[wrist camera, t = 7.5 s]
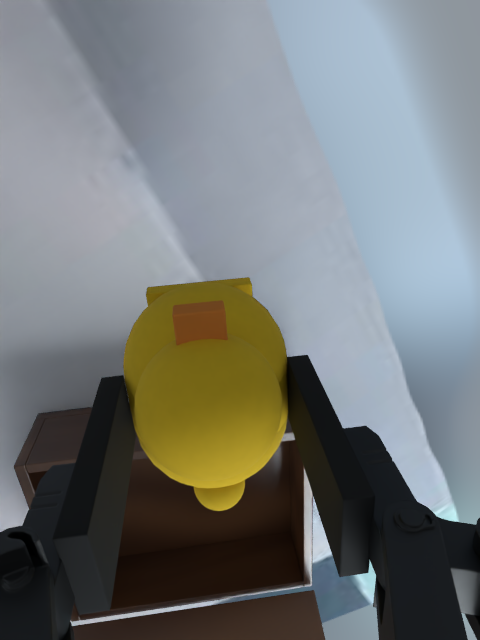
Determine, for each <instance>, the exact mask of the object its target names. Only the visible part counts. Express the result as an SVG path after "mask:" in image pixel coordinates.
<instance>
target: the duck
mask: <svg viewBox="0 0 480 640" xmlns="http://www.w3.org/2000/svg"><path fill="white" fill-rule="evenodd" d="M146 297H147V303H148V307H147V308H146V309H145V310H144V311H143V312H142V314H141V315H140V316H139V318H138V319H137V321H136V322H135V324H134V325H133V328H132V330H131V332H130V335H129V338H128V340H127V343H126V347H125V354H124V365H123V367H124V378H125V384H126V389H127V394H128V399H129V404H130V409H131V413H132V418H133V423H134V428H135V431H136V433H137V436H138V439H139V442H140V445H141V447H142V449H143V450H144V451H145V453H146V454H147V456H148V457H149V459H150V460H151V461H152V463H153V464H154V465H155V466H156V467H157V468H159V469H160V470H161V471H162V472H164V473H165V474H166V475H167V476H169V477H170V478H172V479H174V480H176V481H178V482H180V483H183V484H186V485H190V486H194V492H195V495H196V497H197V499H198V500H199V501H200V503H201V504H202V505H204V506H205V507H206V508H208V509H211V510H215V511H223V510H227V509H229V508H231V507H233V506H234V505H235V504H237V502H238V501H239V500H240V499H241V497H242V495H243V492H244V488H245V479H247V478H249V477H250V476H252V475H254V474H255V473H257V472H258V471H259V470H260V469H261V468H263V467H264V466H265V465H266V463H267V462H268V461H269V460H270V458H271V457H272V456H273V454H274V453H275V452H276V450H277V449H278V447H279V445H280V442H281V440H282V438H283V435H284V432H285V430H286V424H287V416H288V382H287V355H286V348H285V343H284V339H283V337H282V334H281V331H280V329H279V327H278V325H277V324H276V322H275V321H274V319H273V318H272V316H271V315H270V313H269V312H268V310H267V309H266V308H265V307H264V306H262V305H261V304H260V303H259V302H258V301H257V300H256V299H255V298H253V297H252V284H251V281H250V278H238V279H227V280H217V281H207V282H197V283H187V284H177V285H166V286H156V287H148V288H147V293H146Z"/></svg>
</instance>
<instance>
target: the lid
mask: <svg viewBox="0 0 480 640" xmlns="http://www.w3.org/2000/svg"><path fill="white" fill-rule="evenodd" d="M72 628H73V631H74V638H75V640H325V636H324V632H323V628H322V623H321V619H320V614H319V610H318V605H317V601H316V596H315V592H314V590H312V591H305V592H298V593H291V594H285V595H278V596H271V597H265V598H258V599H251V600H245V601H238V602H231V603H225V604H218V605H211V606H205V607H198V608H191V609H184V610H178V611H171V612H164V613H158V614H151V615H144V616H138V617H131V618H124V619H118V620H111V621H104V622H97V623H91V624H84V625H77V626H72Z"/></svg>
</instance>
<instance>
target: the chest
mask: <svg viewBox="0 0 480 640" xmlns="http://www.w3.org/2000/svg"><path fill="white" fill-rule="evenodd" d="M129 405H130V404H129ZM91 410H92V408H83V409H74V410H66V411H57V412H49V413H40V414H38V415H37V417H36V420H35V422H34V424H33V426H32V428H31V430H30V432H29V435H28V437H27V439H26V441H25V443H24V445H23V447H22V450H21V452H20V454H19V456H18V458H17V460H16V462H15V465H14V469H15V472H16V475H17V477H18V480H19V483H20V485H21V488H22V491H23V493H24V496H25V499H26V501H27V504H28V507H29V509H30V505H31V502H32V500H33V497H35V492H36V489H37V487H38V484H39V481H40V479H41V478H42V477H43V476H44V475H45V473H46V472H47V471H48V470H49V469H50V468H51V467H52V465H60V464H69V463H76V460H77V456H78V453H79V450H80V446H81V443H82V440H83V437H84V433H85V430H86V427H87V424H88V420H89V417H90V414H91ZM130 410H131V409H130ZM131 415H132V413H131ZM132 420H133V418H132ZM133 424H134V423H133ZM134 429H135V428H134ZM135 434H136V439H135V446H134V453H133V460H132V466H131V473H130V480H129V487H128V493H127V500H126V507H125V514H124V520H123V527H122V534H121V541H120V547H119V554H118V561H117V568H116V574H115V581H114V588H113V595H112V601H111V608H110V611H103V612H96V613H89V614H82V615H79V613H78V610H77V608H76V605H75V602H74V606H73V611H72V615H71V621H79V620H86V619H93V618H100V617H106V616H113V615H120V614H127V613H133V612H140V611H147V610H153V609H160V608H167V607H174V606H180V605H187V604H194V603H200V602H207V601H214V600H221V599H227V598H234V597H241V596H248V595H254V594H261V593H268V592H274V591H281V590H288V589H295V588H301V587H303V586H304V587H307V586H312V535H313V493H312V490H311V487H310V484H309V481H308V478H307V475H306V472H305V468H304V465H303V462H302V459H301V456H300V453H299V450H298V447H297V444H296V441H295V438H294V434H293V431H292V428H291V425H290V422H289V419H288V416H287V424H286V430H285V432H284V435H283V438H282V440H281V442H280V445H279V447H278V449H277V450H276V452H275V453H274V454H273V456H272V457H271V458H270V460H269V461H268V462H267V463H266V465H265V466H264V467H263V468H261V469H260V470H259V471H258V472H257V473H255V474H254V475H252V476H250V477H249V478H247V479H245V488H244V492H243V495H242V497H241V499H240V500H239V501H238V502H237V504H235V505H234V506H233V507H231V508H229V509H227V510H223V511H215V510H211V509H208V508H206V507H205V506H204V505H202V504H201V503H200V501H199V500H198V499H197V497H196V495H195V492H194V486H190V485H186V484H183V483H180V482H178V481H176V480H174V479H172V478H170V477H169V476H167V475H166V474H165V473H164V472H162V471H161V470H160V469H159V468H157V467H156V466H155V465H154V464H153V463H152V461H151V460H150V459H149V457H148V456H147V454H146V453H145V451H144V450H143V449H142V447H141V445H140V442H139V439H138V436H137V433H136V431H135Z"/></svg>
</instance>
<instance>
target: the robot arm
mask: <svg viewBox="0 0 480 640" xmlns="http://www.w3.org/2000/svg"><path fill="white" fill-rule="evenodd" d="M287 382H288V419H289V422H290V425H291V428H292V431H293V434H294V438H295V441H296V444H297V447H298V450H299V453H300V456H301V459H302V462H303V465H304V468H305V472H306V475H307V478H308V481H309V484H310V487H311V490H312V493H313V496H314V499H315V502H316V506H317V509H318V512H319V515H320V518H321V521H322V524H323V527H324V530H325V533H326V536H327V540H328V543H329V546H330V549H331V552H332V555H333V558H334V561H335V564H336V567H337V570H338V574H339V577H343V576H350V575H357V574H363V573H368V570H369V559H370V561H371V564H372V566H373V569H374V571H375V574H376V584H375V593H374V603H373V607H377V619H378V632H379V640H468V639H467V635H466V631H465V627H464V622H463V618H462V614H461V613H465V615H466V618H467V619H468V622H469V624H470V626H471V628H472V630H473V631H474V634H475V636H476V638H477V640H480V518H479V519H478V521H477V524H476V525H473V524H467V523H460V522H453V521H448V520H444V519H441V518H439V517H436V515H435V514H434V513H433V512H432V511H431V510H430V509H429V508H428V507H426V506H424V505H422V504H420V503H418V502H417V501H416V499H415V498H414V496H413V494H412V493H411V491H410V489H409V487H408V486H407V484H406V482H405V480H404V479H403V477H402V475H401V473H400V472H399V470H398V468H397V467H396V465H395V463H394V462H393V461H392V458H391V456H390V454H389V453H388V451H386V448H385V446H384V444H383V442H382V441H381V439H380V437H379V436H378V435H377V434H376V433H374V432H373V431H372V430H371V429H369V428H368V427H367V426H361V427H353V428H345V429H343V428H342V425H341V423H340V421H339V419H338V417H337V415H336V413H335V411H334V409H333V407H332V405H331V403H330V401H329V398H328V396H327V394H326V392H325V390H324V388H323V386H322V384H321V382H320V380H319V378H318V376H317V374H316V371H315V369H314V367H313V365H312V363H311V361H310V359H309V357H308V355H302V356H293V357H287ZM135 439H136V434H135V429H134V424H133V420H132V415H131V410H130V405H129V400H128V396H127V391H126V386H125V381H124V376H123V375H122V376H113V377H104V378H101V381H100V384H99V387H98V391H97V394H96V397H95V401H94V404H93V407H92V410H91V414H90V417H89V420H88V424H87V427H86V430H85V433H84V437H83V440H82V443H81V446H80V450H79V453H78V456H77V460H76V463H69V464H60V465H52V467H51V468H50V469H49V470H48V471H47V472H46V473H45V475H44V476H43V477H42V478H41V479H40V481H39V484H38V487H37V489H36V492H35V497H33V500H32V502H31V505H30V510H28V513H27V515H26V518H25V520H24V523H23V526H18V527H13V528H8V529H6V530H4V531H2V532H0V640H75V638H74V631H73V628H72V625H71V622H70V620H71V615H72V611H73V606H74V602H75V605H76V608H77V610H78V613H79V615H82V614H89V613H96V612H103V611H110V608H111V601H112V595H113V588H114V581H115V574H116V568H117V561H118V554H119V547H120V541H121V534H122V527H123V520H124V514H125V507H126V500H127V493H128V487H129V480H130V473H131V466H132V460H133V453H134V446H135Z"/></svg>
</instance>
